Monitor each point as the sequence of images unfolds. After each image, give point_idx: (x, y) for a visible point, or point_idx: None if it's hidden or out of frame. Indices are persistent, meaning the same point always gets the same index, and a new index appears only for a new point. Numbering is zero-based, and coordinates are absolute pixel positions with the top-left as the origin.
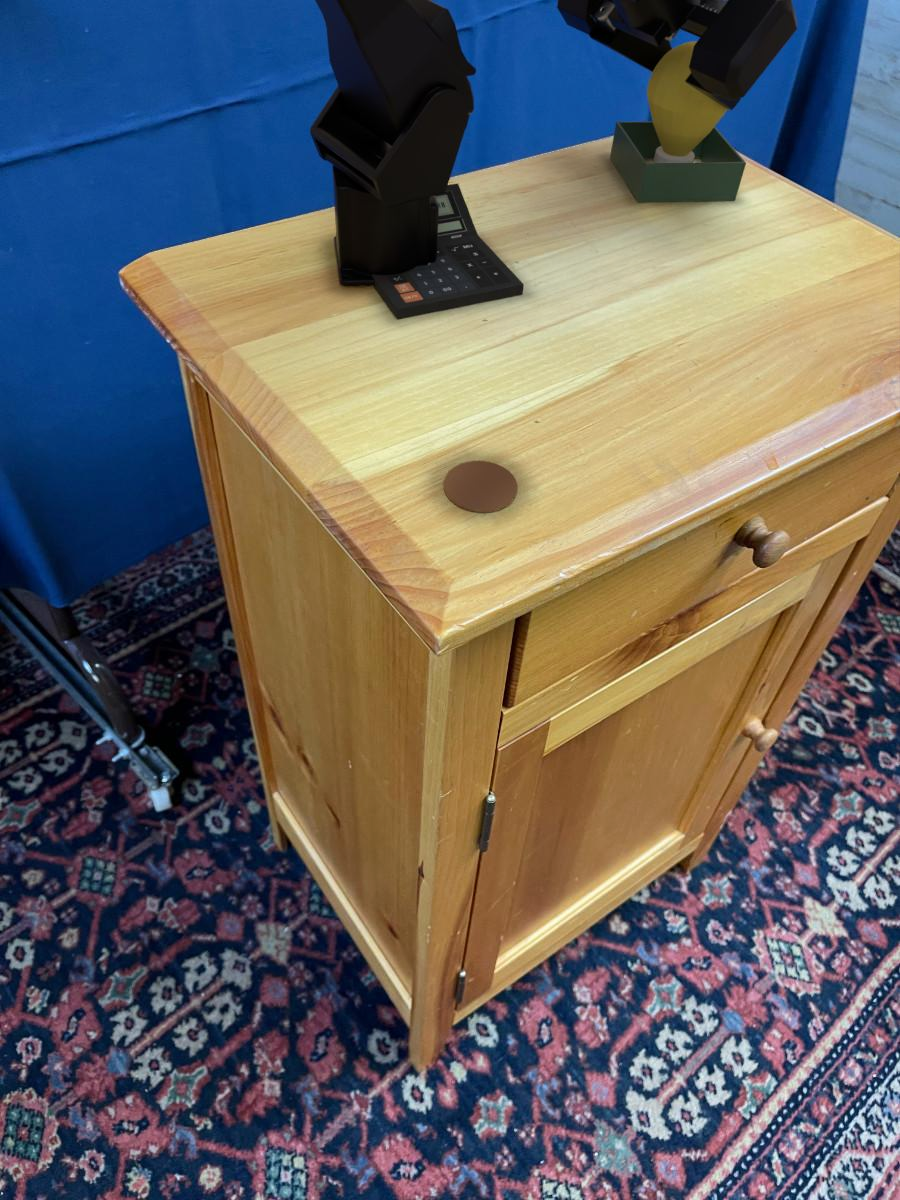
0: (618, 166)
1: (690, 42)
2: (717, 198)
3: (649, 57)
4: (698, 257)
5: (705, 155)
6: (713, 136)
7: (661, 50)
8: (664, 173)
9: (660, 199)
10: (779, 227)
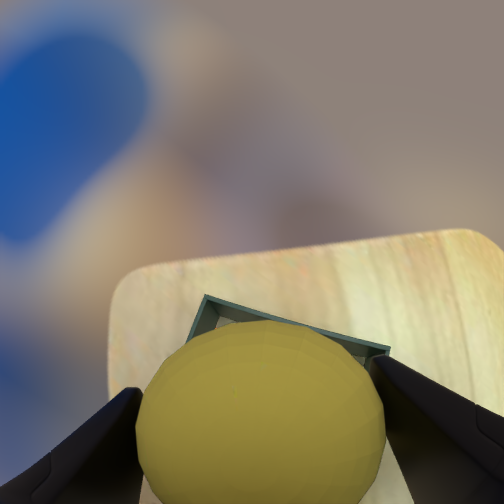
0: None
1: (206, 483)
2: None
3: (126, 499)
4: None
5: (237, 319)
6: (244, 314)
7: (115, 467)
8: None
9: None
10: (447, 336)
